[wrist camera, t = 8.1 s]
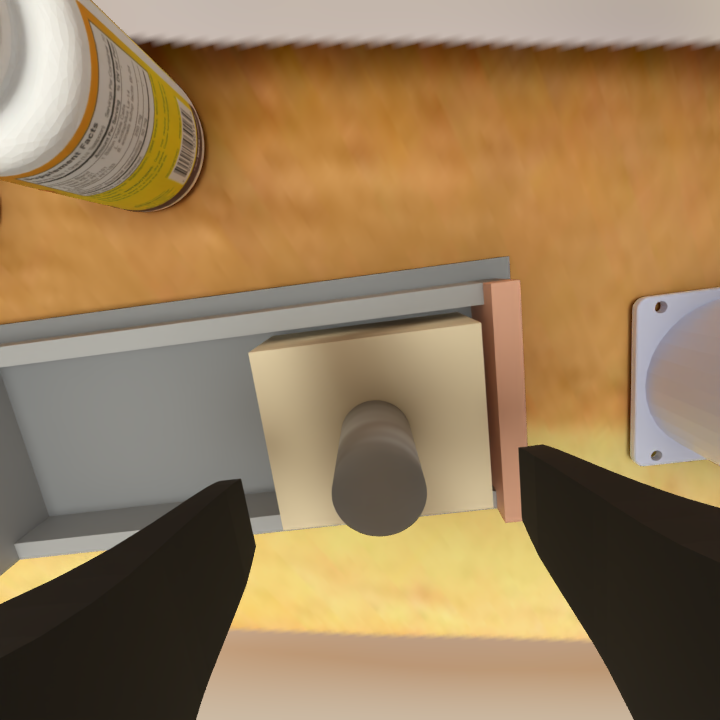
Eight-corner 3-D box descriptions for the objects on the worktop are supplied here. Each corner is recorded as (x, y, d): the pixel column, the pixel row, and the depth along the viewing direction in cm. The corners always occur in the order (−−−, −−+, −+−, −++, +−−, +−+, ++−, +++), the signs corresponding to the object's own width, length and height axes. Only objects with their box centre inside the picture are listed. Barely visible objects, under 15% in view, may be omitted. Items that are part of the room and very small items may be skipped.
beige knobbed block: (457, 312, 17) (528, 344, 10) (469, 462, 18) (538, 591, 11) (272, 336, 17) (201, 385, 10) (298, 481, 19) (254, 619, 11)
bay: (501, 257, 17) (539, 253, 14) (513, 483, 20) (549, 535, 16) (-20, 327, 19) (-123, 342, 15) (51, 534, 21) (-22, 595, 17)
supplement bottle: (51, 111, 17) (-430, -132, 7) (165, 43, 16) (-172, -338, 6) (124, 238, 18) (-193, 196, 8) (234, 179, 17) (46, 50, 7)
